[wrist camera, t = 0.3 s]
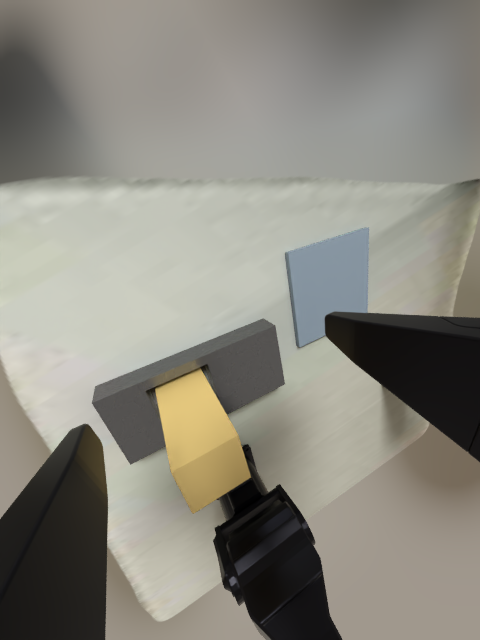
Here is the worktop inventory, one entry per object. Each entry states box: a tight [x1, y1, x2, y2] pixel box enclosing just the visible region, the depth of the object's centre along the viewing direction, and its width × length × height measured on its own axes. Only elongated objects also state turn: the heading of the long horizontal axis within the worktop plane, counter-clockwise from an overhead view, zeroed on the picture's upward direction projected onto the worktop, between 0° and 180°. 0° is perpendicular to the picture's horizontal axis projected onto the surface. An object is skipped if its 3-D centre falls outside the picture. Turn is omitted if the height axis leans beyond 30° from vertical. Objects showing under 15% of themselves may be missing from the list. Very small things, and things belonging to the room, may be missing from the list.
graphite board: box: [92, 319, 285, 465], centre depth 25 cm, size 8×18×2 cm, turn 104°
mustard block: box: [155, 367, 251, 514], centre depth 21 cm, size 5×5×11 cm
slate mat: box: [285, 228, 369, 347], centre depth 30 cm, size 12×12×1 cm
